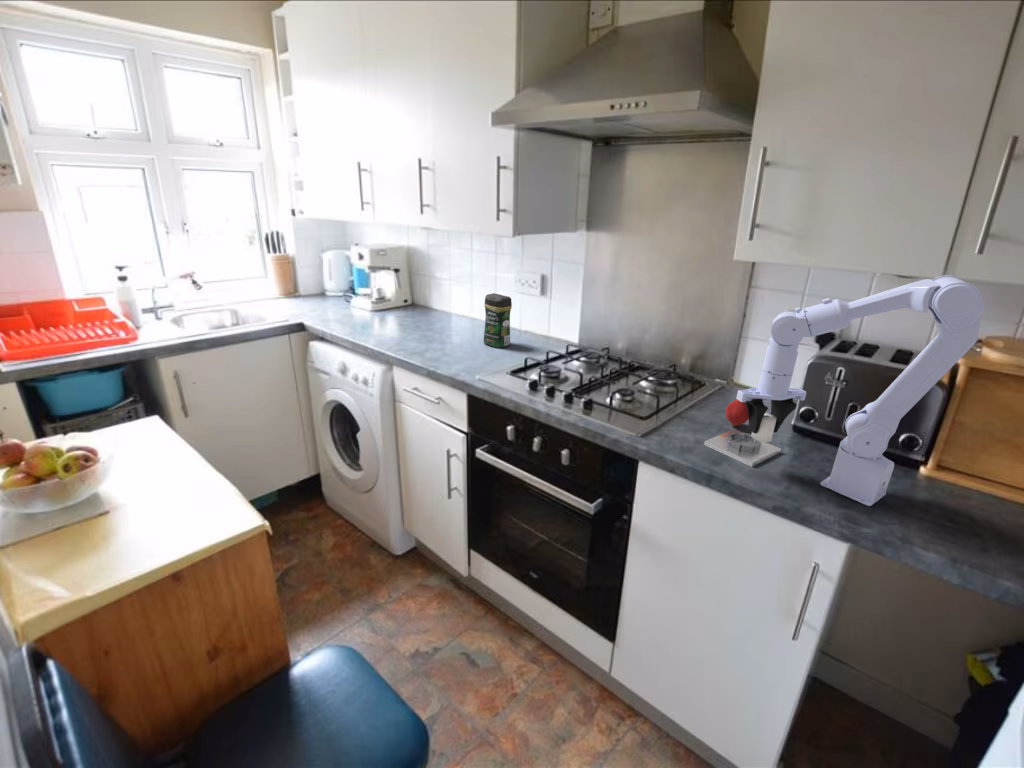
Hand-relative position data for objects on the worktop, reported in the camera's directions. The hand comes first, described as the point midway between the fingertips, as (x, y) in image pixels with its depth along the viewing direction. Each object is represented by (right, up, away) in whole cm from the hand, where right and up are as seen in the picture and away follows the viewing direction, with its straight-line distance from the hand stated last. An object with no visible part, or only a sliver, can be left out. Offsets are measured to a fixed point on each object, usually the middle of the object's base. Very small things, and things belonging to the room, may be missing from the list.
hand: (762, 430), depth 111 cm
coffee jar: (-59, +24, +80) cm, 102 cm away
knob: (0, -2, +1) cm, 2 cm away
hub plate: (0, -5, +10) cm, 12 cm away
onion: (+3, -1, +22) cm, 22 cm away
